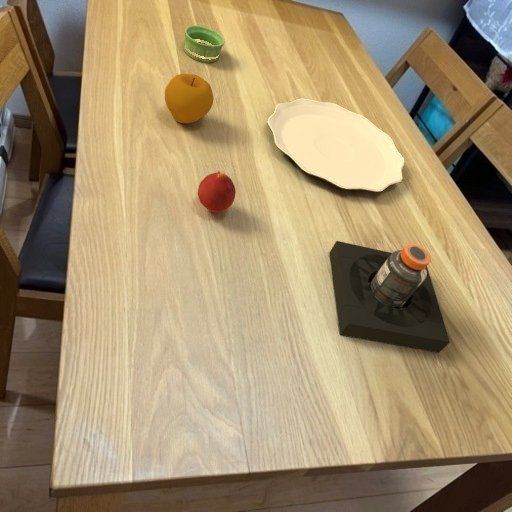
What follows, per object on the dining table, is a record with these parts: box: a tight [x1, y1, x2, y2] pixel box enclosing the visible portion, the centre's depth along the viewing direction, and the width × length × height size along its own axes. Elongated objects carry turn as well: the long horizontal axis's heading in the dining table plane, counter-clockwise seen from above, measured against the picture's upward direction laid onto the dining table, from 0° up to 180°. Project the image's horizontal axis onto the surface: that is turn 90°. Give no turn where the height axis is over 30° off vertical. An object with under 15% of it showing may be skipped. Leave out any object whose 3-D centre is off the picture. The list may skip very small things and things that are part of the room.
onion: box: [197, 170, 237, 213], centre depth 76 cm, size 6×6×8 cm
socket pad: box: [328, 240, 451, 353], centre depth 76 cm, size 16×16×3 cm
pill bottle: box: [368, 242, 432, 309], centre depth 73 cm, size 6×6×11 cm
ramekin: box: [183, 24, 226, 63], centre depth 111 cm, size 9×9×4 cm
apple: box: [164, 73, 215, 124], centre depth 90 cm, size 9×9×9 cm
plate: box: [266, 97, 406, 193], centre depth 101 cm, size 29×29×2 cm
